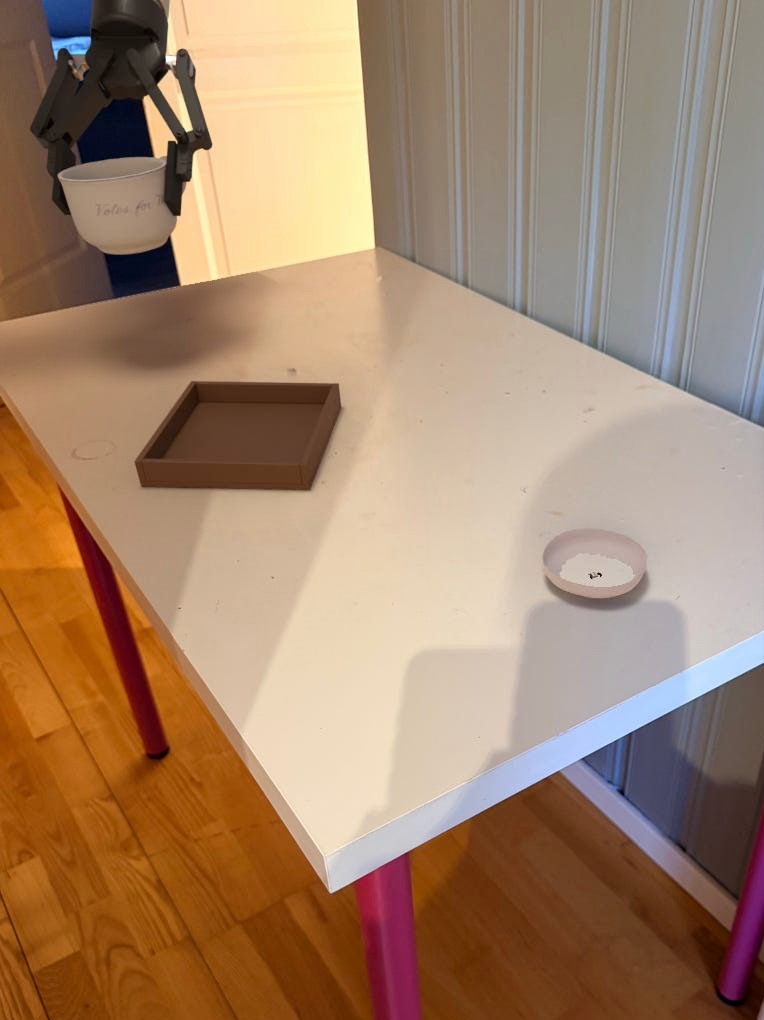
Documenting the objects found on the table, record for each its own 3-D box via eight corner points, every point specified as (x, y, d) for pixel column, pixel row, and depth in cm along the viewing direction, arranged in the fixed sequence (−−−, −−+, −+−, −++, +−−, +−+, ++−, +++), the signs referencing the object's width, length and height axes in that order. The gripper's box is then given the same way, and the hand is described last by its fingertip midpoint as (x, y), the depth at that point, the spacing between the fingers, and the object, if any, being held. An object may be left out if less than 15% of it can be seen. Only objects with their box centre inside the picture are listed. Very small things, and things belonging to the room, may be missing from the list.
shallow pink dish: (664, 594, 69) (667, 574, 67) (567, 617, 66) (569, 596, 65) (615, 540, 74) (617, 520, 73) (525, 560, 72) (525, 539, 71)
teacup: (109, 269, 92) (87, 182, 87) (60, 247, 98) (37, 164, 93) (228, 240, 99) (214, 159, 94) (176, 221, 105) (160, 144, 100)
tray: (140, 486, 82) (134, 461, 80) (195, 403, 95) (191, 380, 93) (309, 489, 81) (306, 464, 79) (341, 406, 94) (338, 383, 93)
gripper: (250, 38, 100) (239, 229, 97) (40, 37, 100) (24, 227, 98) (229, -19, 92) (217, 187, 90) (2, -19, 93) (-15, 185, 91)
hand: (117, 208), depth 94 cm, fingers closed on teacup, 11 cm apart
